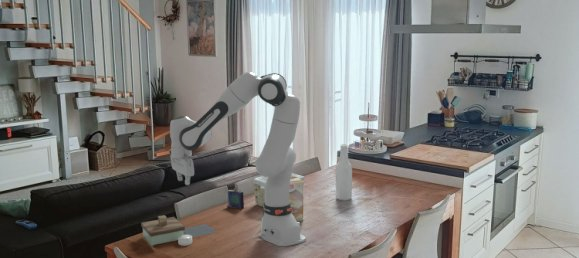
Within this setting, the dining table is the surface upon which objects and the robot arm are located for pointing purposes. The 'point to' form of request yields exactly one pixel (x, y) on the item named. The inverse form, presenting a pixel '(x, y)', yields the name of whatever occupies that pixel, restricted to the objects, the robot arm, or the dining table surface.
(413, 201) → the dining table surface
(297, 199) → the coffeecake box
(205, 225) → the trivet
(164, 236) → the dish
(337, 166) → the alcohol
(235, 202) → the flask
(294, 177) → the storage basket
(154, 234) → the lid
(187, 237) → the white rounded piece
